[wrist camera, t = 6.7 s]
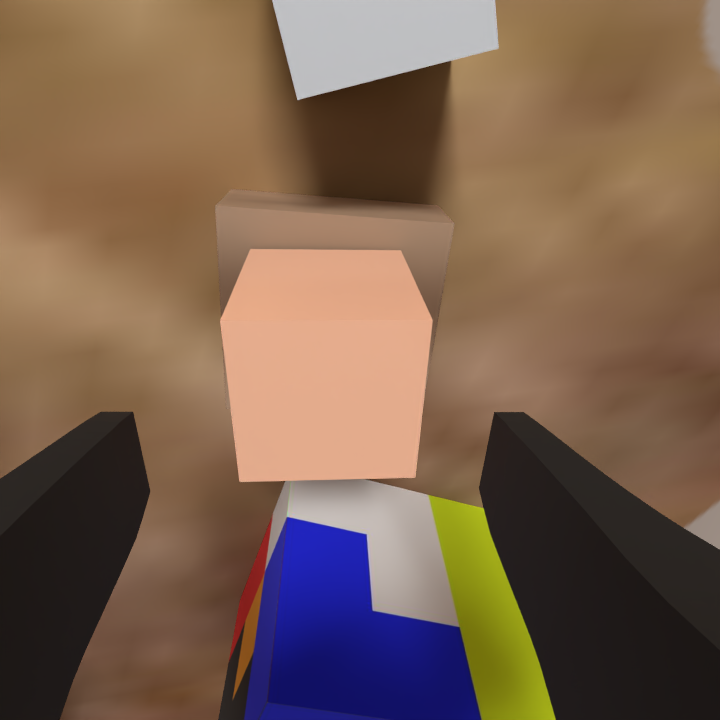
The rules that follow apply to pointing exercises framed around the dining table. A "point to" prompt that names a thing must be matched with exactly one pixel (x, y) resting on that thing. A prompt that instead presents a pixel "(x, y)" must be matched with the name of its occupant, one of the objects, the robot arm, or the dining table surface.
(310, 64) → the light grey block
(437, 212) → the wood slab
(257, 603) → the puzzle toy
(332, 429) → the peach block
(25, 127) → the dining table surface
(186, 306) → the dining table surface
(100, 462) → the robot arm
